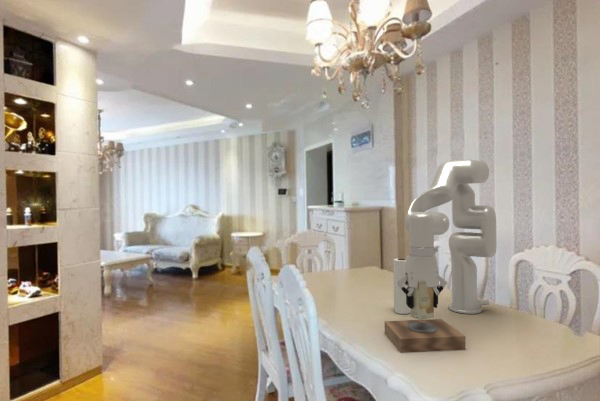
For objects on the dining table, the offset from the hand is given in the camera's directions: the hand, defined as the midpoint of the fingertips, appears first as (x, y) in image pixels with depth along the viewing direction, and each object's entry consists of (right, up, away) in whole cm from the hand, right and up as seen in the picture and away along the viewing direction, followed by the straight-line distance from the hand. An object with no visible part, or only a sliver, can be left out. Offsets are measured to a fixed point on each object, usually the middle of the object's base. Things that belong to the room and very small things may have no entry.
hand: (422, 306), depth 119 cm
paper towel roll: (+2, -11, +30) cm, 32 cm away
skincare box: (0, -4, 0) cm, 4 cm away
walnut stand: (0, -11, 0) cm, 11 cm away
